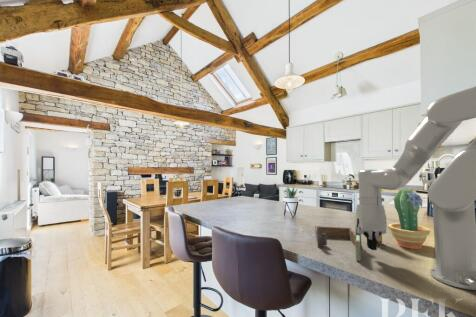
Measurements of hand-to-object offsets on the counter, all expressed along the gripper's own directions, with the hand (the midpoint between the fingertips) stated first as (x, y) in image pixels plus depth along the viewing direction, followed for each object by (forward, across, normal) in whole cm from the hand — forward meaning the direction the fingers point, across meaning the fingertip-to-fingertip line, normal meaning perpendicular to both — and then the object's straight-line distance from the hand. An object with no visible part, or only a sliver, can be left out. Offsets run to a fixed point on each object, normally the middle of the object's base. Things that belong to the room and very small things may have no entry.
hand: (372, 248), depth 85 cm
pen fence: (+4, +6, -19) cm, 21 cm away
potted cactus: (+4, -25, -14) cm, 29 cm away
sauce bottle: (+4, -11, -17) cm, 21 cm away
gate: (+3, +4, -3) cm, 6 cm away
